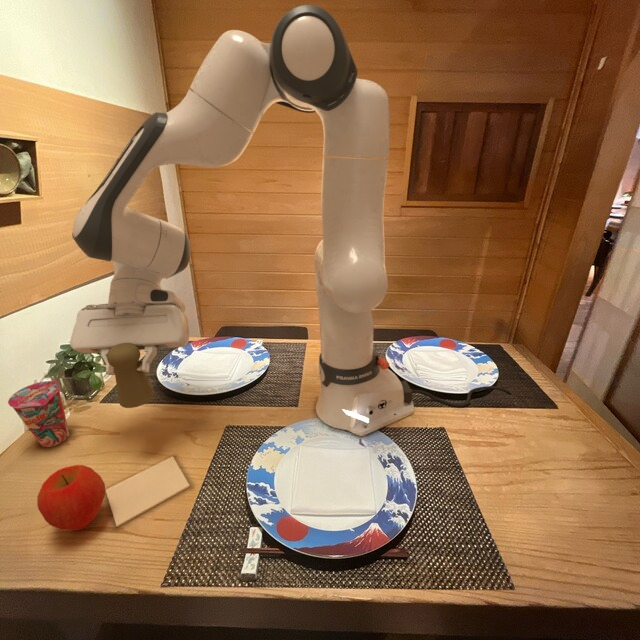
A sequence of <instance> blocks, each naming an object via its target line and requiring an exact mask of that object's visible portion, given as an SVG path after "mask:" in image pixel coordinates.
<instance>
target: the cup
mask: <svg viewBox="0 0 640 640" xmlns="http://www.w3.org/2000/svg"><path fill="white" fill-rule="evenodd" d="M60 387H61V385H60V383H59V382H58V381H55V380H46V381H45V380H44V381H40V382H39V381H38V382H36V383H32V384H30V385H27V386H25V387H22V388H21V389H19V390H17V391H16V392H14V393H13V394H12V395H11V396H10V397H9V398H8V401H7V403H8V406H9V407H10V408H12V409H13V410H14V411H15V412H16V414H17V416H18V417H19V418H20V419H21V420H22V422H23V423H24V425H25V426H26V427H27V429H28V430H29V432H30V433H31V434H32V435H33V437H34V438H35V439H36V440H37V442H38V443H39V444H40V446H41V447H42V448H53V447H55V446H58V445H60V444H62V443H63V442H65V441H66V440H67V439H68V438H69V436H70V430H69V426H68V421H67V416H66V412H65V408H64V403H63V400H62V395H61V392H60Z"/></svg>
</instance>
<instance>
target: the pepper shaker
mask: <svg viewBox="0 0 640 640" xmlns="http://www.w3.org/2000/svg"><path fill="white" fill-rule="evenodd" d="M140 359H141V350H139V348H138V347H137V346H136V345H135V344H132V343H122V344H118V345H116V346H114V347H112V348H111V349H110V350H109V351H108V353H107V360H108V363H109V364H110V365H111V366H112V367H114V372H115V375H114V378H115V383H116V384H115V385H116V389H117V396H118V403H119V406H121V407H122V408H125V409H134V408H138V407H142V406H144V405H145V404H147V403H149V402H150V401H151V400H152V399H153V398H154V397H155V390H154V388H153V386H152V384H151V383H150V380H149V378H148V376H147V373H140V372H137V367H138V366H137V363H138V362H140Z"/></svg>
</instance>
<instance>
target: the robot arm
mask: <svg viewBox="0 0 640 640" xmlns="http://www.w3.org/2000/svg"><path fill="white" fill-rule="evenodd" d="M202 61H203V62H202V63H201V65H200V67H199V68H198V70H197V72H196V74H195V76H194V78H193V80H192V82H191V84H190V86H189V88H188V91H187V93H186V95H185V96H184V97H183V99H182V100H181V101H180V102H179V103H178V104H177V105H176V106H174V108H172V109H170V110H169V111H167V112H157V111H156V112H154V113H152V114H151V115H150V116H149V117H147V119H145V120H144V122H143V123H142V124H141V125H140V126H139V127H138V129H137V130H136V131H135V133H134V134H133V136H132V137H131V138H130V140H129V141H128V143H127V144H126V146H125V147H124V148H123V150H122V152H121V154H120V155H119V156H118V157H117V158H116V160H115V162H114V163H113V164H112V166H111V168H110V170H109V171H108V173H107V174H106V176H105V177H104V178H103V180H102V181H101V182H100V183H99V185H98V187H97V188H96V190H95V191H94V192H93V193H92V194H91V196H90V197H89V198H88V199H87V201H86V202H85V203H84V204H83V205H82V206H81V207H80V209H79V210H78V212H77V213H76V215H75V217H74V220H73V224H72V233H71V234H72V239H73V241H74V243H75V244H76V245H77V246H78V248H79V249H80V250H81V251H82V252H83V254H85V255H86V256H87V257H88V258H89V259H90V258H91V259H95V260H101V261H106V262H113V263H112V264H113V266H112V267H113V271H114V272H113V273H114V274H113V277H112V278H111V281H110V285H109V293H108V301H107V303H99V304H87V305H86V306H84V307H82V308H81V309H80V310H78V312H77V314H76V321H75V324H74V325H73V329H72V332H71V336H70V340H69V346H70V347H71V348H72V350H74V351H75V352H77V353H79V354H83V355H85V354H99V353H100V356H101V358H102V360H103V361H104V363H105V374H106V375H107V376H115V372H114V367H112V366H111V365H110V364H109V363H108V360H107V353H108V351H109V350H110V349H111V348H112V347H114V346H116V345H118V344H122V343H132V344H135V345H136V346H137V347H138V348H139V351H144V352H145V353H146V354H145V356H143V359H142V360H141V361H139V362H138V363H137V366H138V367H137V372H140V373H145V374H147V373H149V372H150V365H151V364H152V362H153V361H154V359H155V358H156V356H157V354H158V349H172V348H173V349H174V348H184V347H185V346H186V345H187V344H189V340H190V329H189V328H190V327H189V320H188V317H187V315H185V311H186V305H185V303H184V302H183V300H182V298H180V297H179V296H178V295H177V294H176V293H175V292H173V291H170V290H167V289H162V287H161V282H162V280H163V279H166V280H167V279H169V278H171V277H174V276H176V275H177V274H180V273H181V272H183V271H184V270H185V269H186V268H187V267H188V265H189V263H190V260H191V253H192V245H191V244H192V243H191V241H190V238H189V236H188V234H187V231H185V229H184V228H181V227H179V226H177V225H175V224H173V223H170V222H168V221H166V220H163V219H160V218H156V217H154V216H151V215H148V214H146V213H143V212H141V211H138V210H135V209H133V208H131V207H128V204H129V203H130V202H131V200H132V199H133V198H134V196H135V195H136V193H137V192H138V190H139V189H140V188H141V186H142V184H144V182H145V180H146V179H147V177H148V176H149V175H150V173H151V172H153V170H155V169H157V168H159V167H162V166H165V165H184V166H185V165H187V166H192V167H193V166H194V167H201V168H219V167H220V168H221V167H225V166H227V165H230V164H232V163H234V162H235V161H237V160H238V159H239V158H240V157H241V156H242V154H243V153H244V152H245V150H246V149H247V147H248V145H249V143H250V141H251V140H252V138H253V135H254V133H255V131H256V129H257V128H258V125H259V124H260V122H261V120H262V118H263V116H264V115H265V113H266V112H267V110H268V109H269V108H270V107H271V106H272V105H273V104H278V105H280V106H283V107H286V108H289V109H291V110H295V111H297V112H300V113H305V114H306V113H307V114H313V113H317V115H318V116H319V118H320V121H321V124H322V129H323V146H322V147H323V148H322V149H323V150H322V166H321V167H322V171H321V176H322V177H321V193H320V194H321V195H320V210H321V222H322V223H321V225H322V239H321V240H320V241H319V242H318V245H317V247H316V249H315V253H314V261H313V262H314V263H313V264H314V276H315V290H316V299H317V308H318V319H319V333H320V354H319V355H318V356H319V357H318V361H319V362H318V375H319V376H318V377H319V379H320V386H319V394H318V397H317V401H316V404H315V412H316V413H315V414H316V415H317V417H318V418H319V420H320V421H321V422H323V423H324V424H326V425H327V426H330V427H331V428H335V429H338V430H344V431H348V432H350V433H352V434H354V435H356V436H360V437H363V436H366V435H369V434H371V433H374V432H376V431H378V430H380V429H382V428H384V427H386V426H388V425H390V424H393V423H395V422H397V421H399V420H403V419H404V418H406V417H409V416H411V415H413V414H414V412H415V404H414V402H413V401H414V400H413V394H419V395H425V396H427V397H428V398H430V399H431V400H434V401H436V402H439V403H442V404H444V405H447V406H451V407H457V408H461V407H465V406H468V405H469V404H470V402H471V398H472V395H473V393H476V392H480V391H486V390H487V391H488V390H496V391H500V392H503V393H505V394H507V395H509V396H512V392H511V391H510V390H508V389H507V388H504V387H501V386H497V385H486V386H479V387H475V388H472V389H470V390H469V391H468V393H467V396H466V400H465V401H464V402H451V401H448V400H446V399H442V398H440V397H437V396H435V395H433V394H431V392H427V391H425V390H420V389H413V388H411V387H410V385H409V383H408V381H407V380H400V379H399V378H398V376H397V375H396V374H395V373H394V372H393V371H392V370H390V369H389V367H390V362H389V361H388V360H386V358H385V357H381V355H380V354H379V352H378V351H376V350H374V330H375V329H374V328H375V322H374V317H373V312H372V310H374V309H376V308H377V307H378V306H379V305H380V304H381V303H382V302H383V301H384V299H385V297H386V295H387V293H388V288H389V280H388V275H387V269H386V255H385V254H386V252H385V250H386V248H385V226H384V206H385V205H384V203H385V195H386V194H385V193H386V184H387V176H388V168H389V167H388V165H389V157H390V156H389V155H390V143H391V112H390V100H389V96H388V93H387V92H386V90H385V89H384V88H383V87H382V86H381V84H378V83H376V82H375V81H373V80H369V79H366V78H365V79H363V78H357V77H358V67H357V65H356V63H355V60H354V57H353V55H352V53H351V50H350V47H349V44H348V41H347V39H346V36H345V34H344V32H343V30H342V28H341V26H340V24H339V23H338V21H337V20H336V18H335V17H334V16H333V15H332V13H331V14H330V13H329V12H328V11H327V10H326V9H324V8H323V7H320V6H318V5H314V4H302V5H301V4H300V5H298V6H296V7H293V8H291V9H290V10H289V11H286V13H285V14H284V15H282V17H281V18H280V19H279V21H278V22H277V24H276V26H275V27H274V30H273V32H272V36H271V39H270V43H266V42H262V41H260V40H259V39H258V38H256V37H255V35H254V36H253V35H252V34H251V33H248V32H246V31H243V30H238V29H230V30H227V31H225V32H223V33H222V34H221V35H220V36H219V37H218V38H217V40H216V42H215V43H214V44H213V46H212V47H211V49H210V50H209V52H207V55H206V56H205V58H204V60H202Z"/></svg>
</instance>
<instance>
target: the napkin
mask: <svg viewBox="0 0 640 640" xmlns="http://www.w3.org/2000/svg"><path fill="white" fill-rule="evenodd" d="M190 487H191V486H190V483H188V480H187V478H186V477H185V475H184V473H183V471H182V470H181V468H180V466H179V464H178V462H177V461H176V459H175V457H174V456H170V457H168V458H166V459H164V460H162V461H160V462H158V463H156V464H154V465H152V466H150V467H148V468H146V469H144V470H142V471H140V472H138V473H136V474H133V475H132V476H129V477H128V478H126V479H124V480H122V481H120V482H117V483H116V484H114V485H112V486H110V487H108V488H105V494H106V496H107V500H108V504H109V506H110V510H111V514H112V516H113V520H114V523H115V526H116V528H119V527H121V526H123V525H124V524H126V523H128V522H129V521H131V520H133V519H135V518H137V517H138V516H140V515H142V514H144V513H145V512H147V511H150V510H151V509H153V508H154V507H156V506H158V505H160V504H162V503H164V502H165V501H167V500H170V499H171V498H172V497H174V496H176V495H178V494H180V493H182V492H184V491H185V490H187V489H189V488H190Z"/></svg>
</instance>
